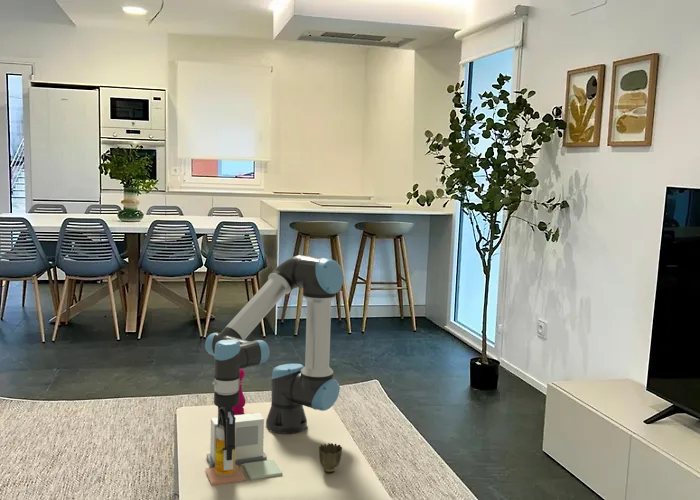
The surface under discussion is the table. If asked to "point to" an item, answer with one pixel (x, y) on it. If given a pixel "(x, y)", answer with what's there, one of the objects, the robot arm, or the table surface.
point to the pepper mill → (240, 397)
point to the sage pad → (262, 469)
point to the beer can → (222, 453)
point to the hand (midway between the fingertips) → (225, 464)
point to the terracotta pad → (217, 479)
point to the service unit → (243, 439)
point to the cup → (330, 456)
